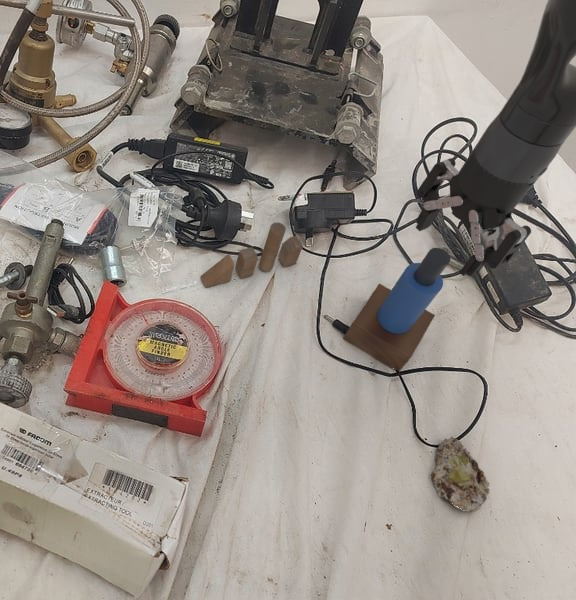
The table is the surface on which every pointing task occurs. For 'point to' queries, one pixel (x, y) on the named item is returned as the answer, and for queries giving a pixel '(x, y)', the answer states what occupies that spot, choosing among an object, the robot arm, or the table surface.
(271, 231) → the wood blocks
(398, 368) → the walnut block
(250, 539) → the table surface
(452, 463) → the mineral rock
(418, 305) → the bottle
